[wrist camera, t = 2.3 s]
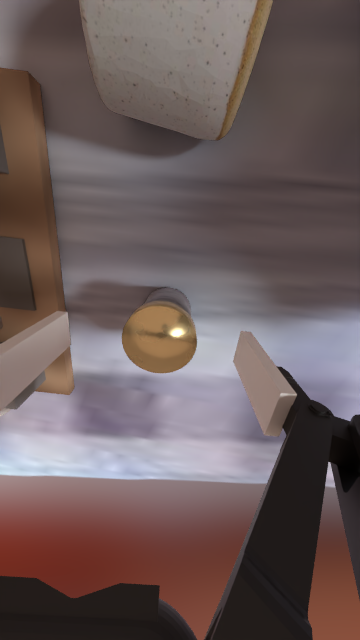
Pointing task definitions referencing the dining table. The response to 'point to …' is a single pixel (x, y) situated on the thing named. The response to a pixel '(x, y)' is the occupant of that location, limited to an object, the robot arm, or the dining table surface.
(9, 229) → the shaft bench
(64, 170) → the dining table surface
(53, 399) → the dining table surface
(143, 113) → the ceramic mug
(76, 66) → the dining table surface
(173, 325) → the knob
